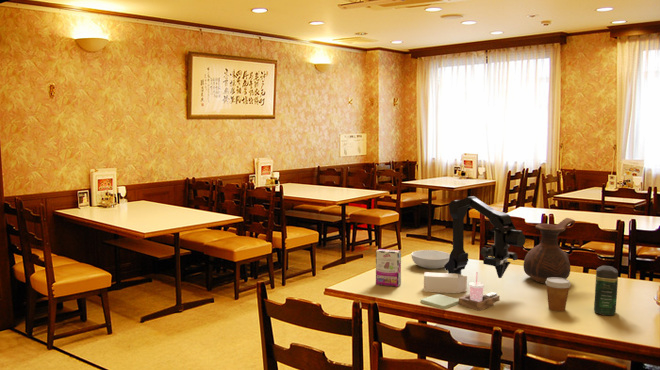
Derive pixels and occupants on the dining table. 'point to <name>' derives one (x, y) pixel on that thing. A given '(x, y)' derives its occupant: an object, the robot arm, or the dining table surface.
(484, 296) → the key bar
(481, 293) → the beverage cup
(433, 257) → the serving bowl
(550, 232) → the jug
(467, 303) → the brown wooden tray
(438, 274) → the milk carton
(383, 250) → the candy bar box
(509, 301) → the dining table surface
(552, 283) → the disposable coffee cup
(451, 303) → the pale green square pad
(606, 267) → the coffee jar
